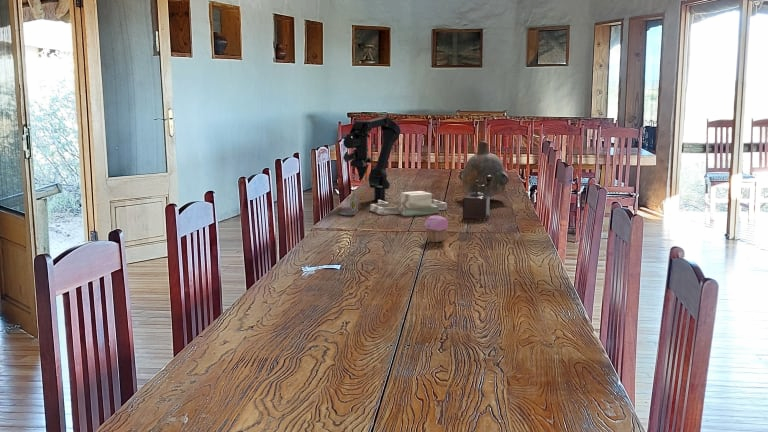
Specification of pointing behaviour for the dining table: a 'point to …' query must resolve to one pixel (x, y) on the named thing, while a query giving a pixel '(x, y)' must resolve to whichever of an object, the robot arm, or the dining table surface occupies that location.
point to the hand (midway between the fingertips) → (361, 179)
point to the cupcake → (436, 228)
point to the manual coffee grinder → (477, 202)
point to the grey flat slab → (385, 209)
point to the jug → (484, 172)
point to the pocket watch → (352, 204)
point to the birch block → (416, 199)
